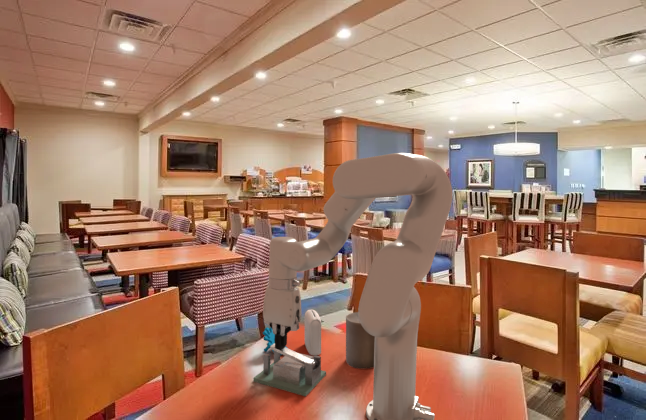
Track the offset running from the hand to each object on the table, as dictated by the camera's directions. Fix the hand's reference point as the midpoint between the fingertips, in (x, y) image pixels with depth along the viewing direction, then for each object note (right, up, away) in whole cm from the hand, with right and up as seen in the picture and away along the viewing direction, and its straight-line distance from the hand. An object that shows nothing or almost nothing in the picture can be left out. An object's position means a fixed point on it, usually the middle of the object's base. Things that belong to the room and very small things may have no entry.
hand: (280, 347), depth 107 cm
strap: (+4, -2, -2) cm, 4 cm away
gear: (-3, -7, +15) cm, 17 cm away
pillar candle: (+23, -8, +9) cm, 26 cm away
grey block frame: (+3, -7, -1) cm, 8 cm away
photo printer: (+8, -7, +18) cm, 21 cm away
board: (+3, -8, -1) cm, 9 cm away
